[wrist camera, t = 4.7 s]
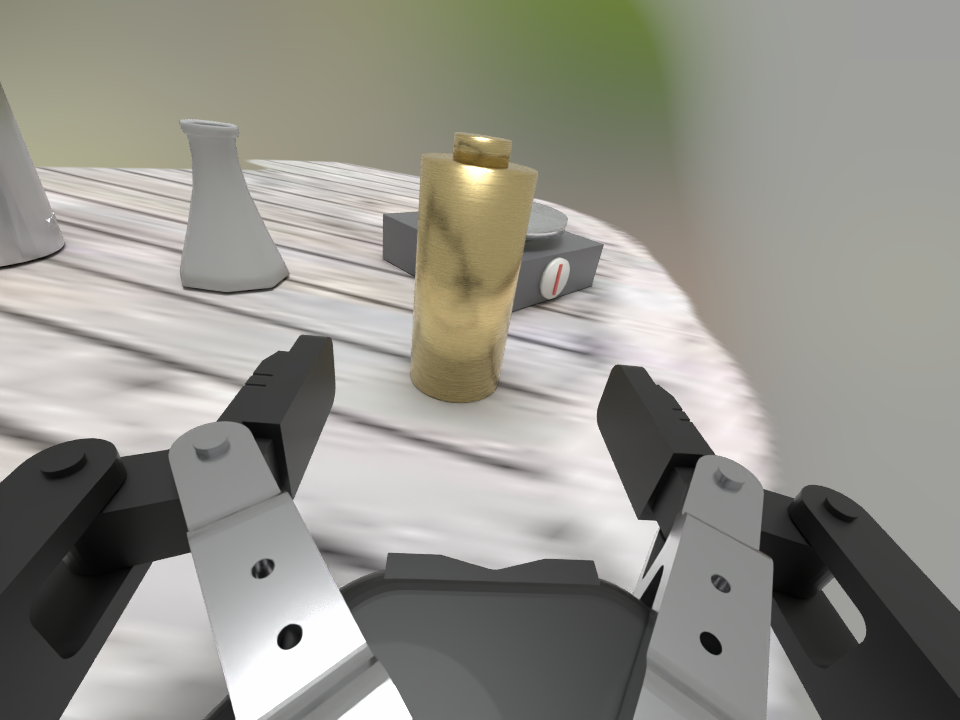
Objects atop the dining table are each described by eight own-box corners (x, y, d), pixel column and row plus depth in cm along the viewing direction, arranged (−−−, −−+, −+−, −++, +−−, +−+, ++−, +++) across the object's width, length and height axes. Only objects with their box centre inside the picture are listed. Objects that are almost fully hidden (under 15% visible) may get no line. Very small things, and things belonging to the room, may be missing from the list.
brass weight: (450, 415, 20) (483, 143, 14) (392, 367, 23) (398, 124, 17) (516, 382, 23) (567, 149, 17) (458, 344, 26) (483, 132, 20)
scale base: (495, 321, 30) (505, 263, 27) (382, 258, 38) (383, 209, 35) (596, 287, 39) (610, 241, 36) (488, 242, 47) (493, 202, 44)
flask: (285, 296, 29) (265, 136, 24) (163, 295, 27) (111, 118, 21) (294, 261, 35) (280, 126, 29) (195, 257, 32) (160, 111, 27)
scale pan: (500, 247, 29) (502, 232, 28) (399, 205, 35) (400, 192, 35) (591, 231, 36) (594, 220, 36) (494, 200, 43) (496, 189, 42)
